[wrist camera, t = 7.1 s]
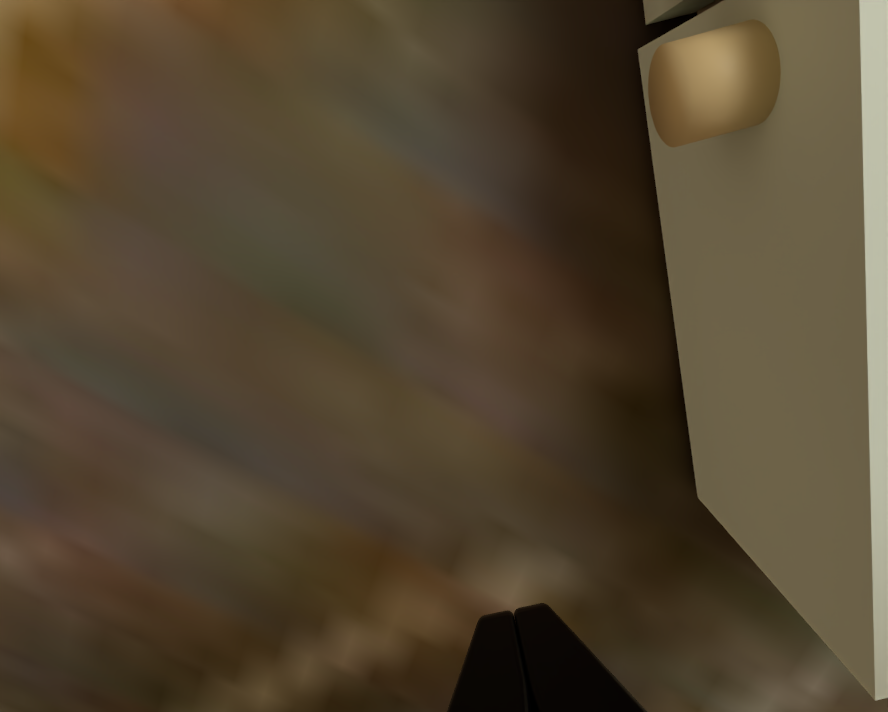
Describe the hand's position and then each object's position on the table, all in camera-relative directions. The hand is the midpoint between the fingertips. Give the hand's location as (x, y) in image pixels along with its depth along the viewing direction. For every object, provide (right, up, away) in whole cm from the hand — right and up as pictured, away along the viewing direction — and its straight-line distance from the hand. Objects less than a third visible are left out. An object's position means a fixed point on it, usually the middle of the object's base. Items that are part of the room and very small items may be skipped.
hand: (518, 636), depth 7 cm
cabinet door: (+4, +5, +6) cm, 9 cm away
